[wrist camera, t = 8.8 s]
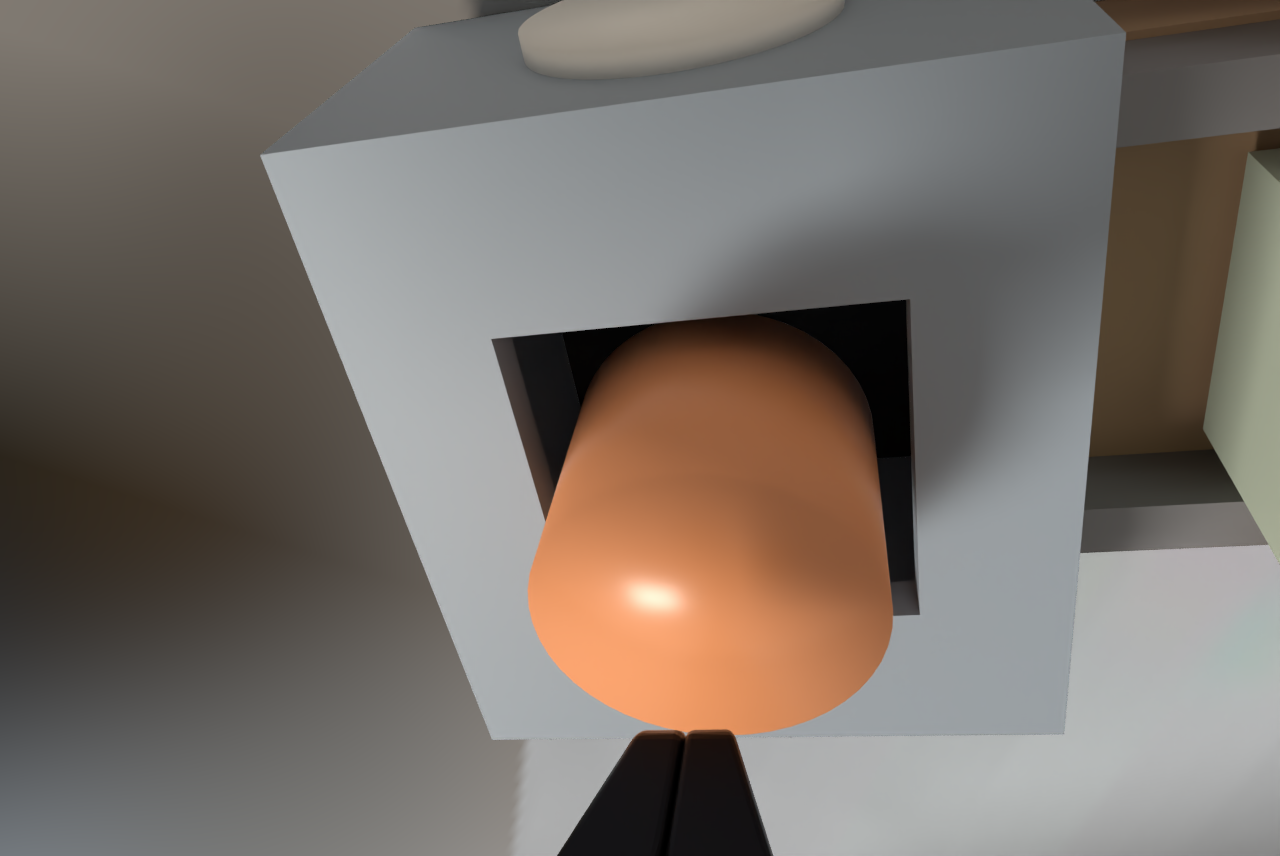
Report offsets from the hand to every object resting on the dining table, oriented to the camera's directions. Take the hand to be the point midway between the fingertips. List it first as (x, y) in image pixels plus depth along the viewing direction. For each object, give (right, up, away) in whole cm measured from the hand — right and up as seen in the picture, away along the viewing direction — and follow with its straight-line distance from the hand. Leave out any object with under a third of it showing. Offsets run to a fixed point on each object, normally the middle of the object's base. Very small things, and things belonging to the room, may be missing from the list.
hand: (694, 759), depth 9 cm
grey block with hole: (+1, +5, +7) cm, 9 cm away
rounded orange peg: (+1, +3, +4) cm, 5 cm away
